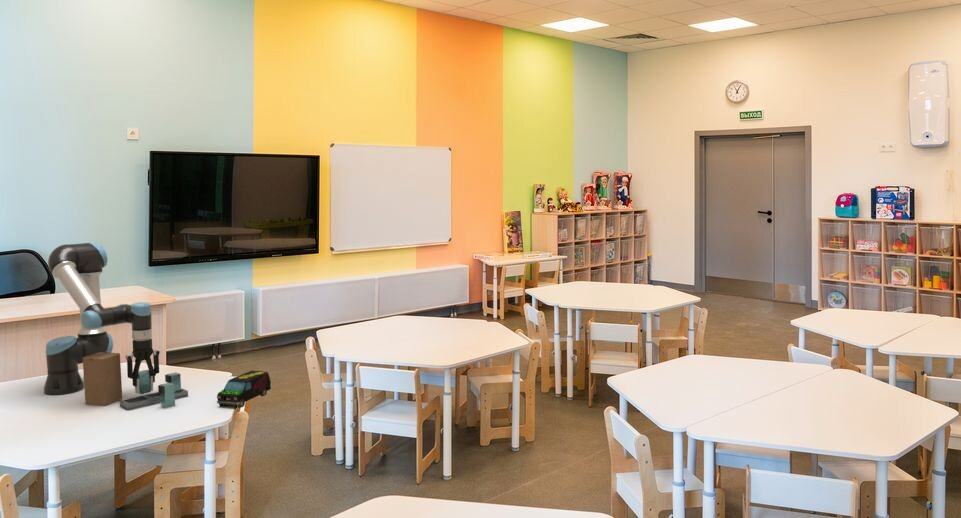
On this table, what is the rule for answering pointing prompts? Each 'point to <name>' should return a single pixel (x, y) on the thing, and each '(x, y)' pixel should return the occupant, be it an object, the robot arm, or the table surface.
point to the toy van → (244, 388)
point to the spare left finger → (167, 394)
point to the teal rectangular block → (144, 381)
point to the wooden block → (102, 378)
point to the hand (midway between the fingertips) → (144, 391)
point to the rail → (155, 394)
